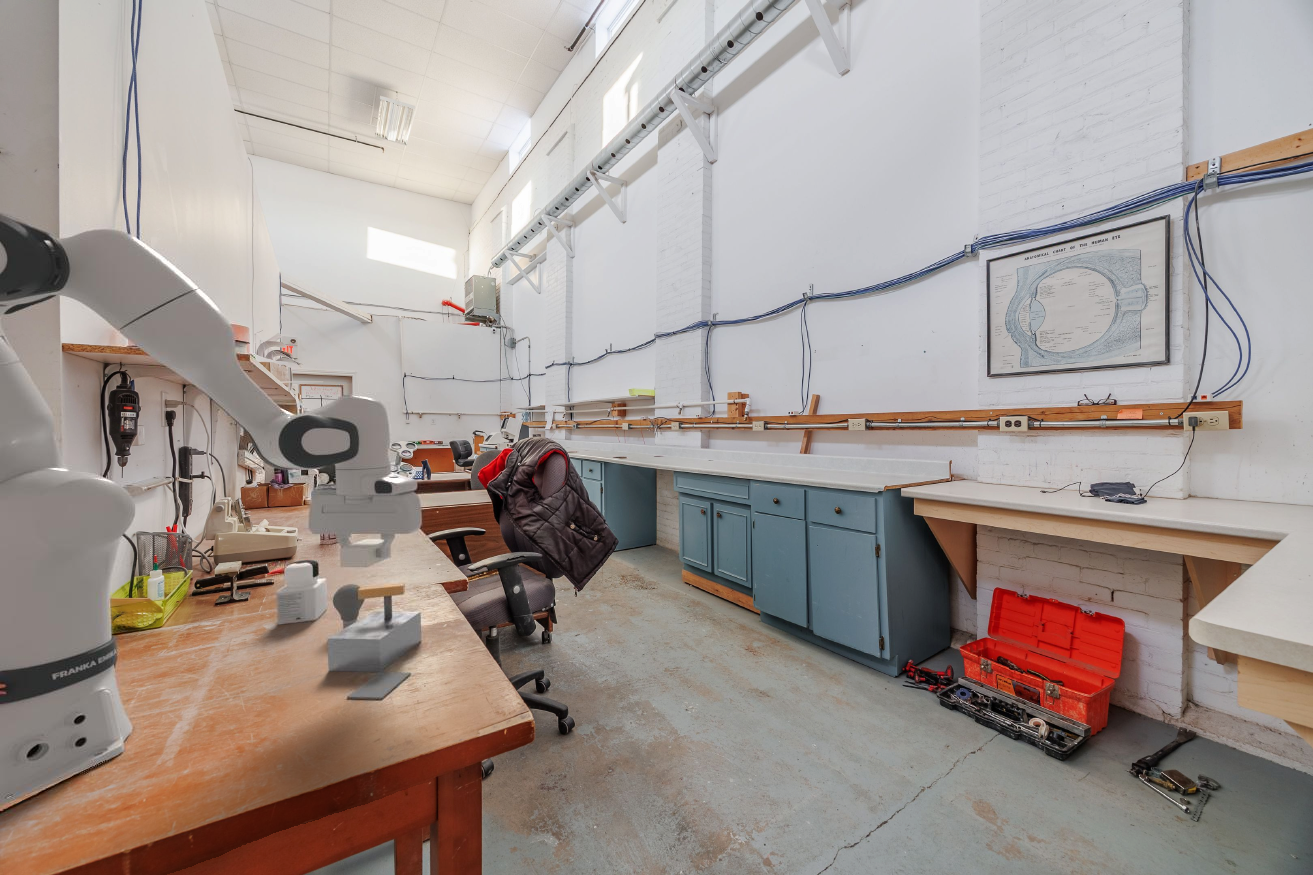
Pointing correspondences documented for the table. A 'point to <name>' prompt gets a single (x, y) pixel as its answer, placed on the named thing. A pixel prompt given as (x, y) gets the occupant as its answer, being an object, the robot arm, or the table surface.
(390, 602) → the t key
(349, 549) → the cream white box
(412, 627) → the box
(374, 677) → the mat
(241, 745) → the table surface
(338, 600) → the light bulb
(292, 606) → the container
